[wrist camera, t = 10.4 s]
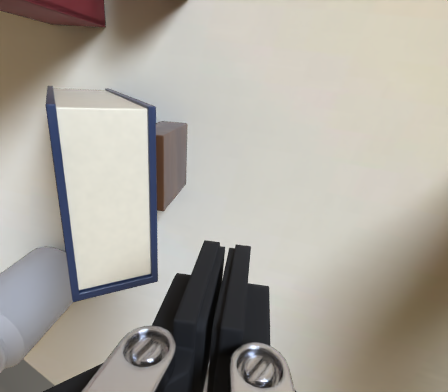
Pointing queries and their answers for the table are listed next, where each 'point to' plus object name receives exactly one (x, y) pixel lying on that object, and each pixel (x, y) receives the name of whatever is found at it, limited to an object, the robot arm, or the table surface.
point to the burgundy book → (59, 11)
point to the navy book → (105, 188)
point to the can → (31, 301)
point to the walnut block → (170, 161)
